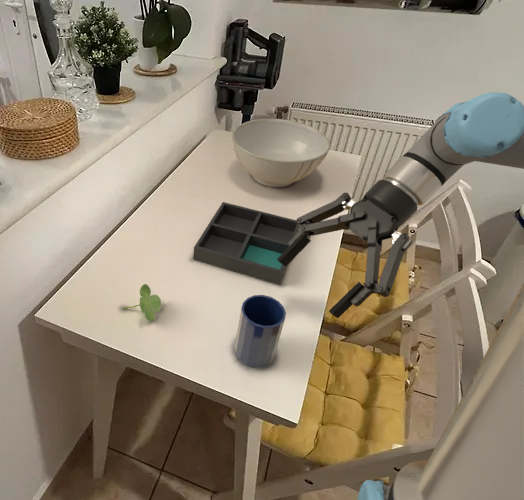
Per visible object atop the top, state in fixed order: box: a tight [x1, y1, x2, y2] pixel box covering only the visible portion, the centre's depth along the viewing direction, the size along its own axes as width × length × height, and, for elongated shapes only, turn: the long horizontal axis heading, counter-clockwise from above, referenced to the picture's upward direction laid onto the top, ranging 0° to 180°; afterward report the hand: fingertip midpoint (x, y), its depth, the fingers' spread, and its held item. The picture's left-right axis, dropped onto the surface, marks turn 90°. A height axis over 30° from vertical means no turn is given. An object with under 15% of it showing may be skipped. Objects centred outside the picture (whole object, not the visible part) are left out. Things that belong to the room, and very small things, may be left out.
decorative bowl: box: [231, 118, 331, 188], centre depth 123 cm, size 27×27×12 cm
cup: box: [234, 294, 287, 369], centre depth 75 cm, size 7×7×11 cm
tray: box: [192, 201, 300, 286], centre depth 100 cm, size 20×20×4 cm
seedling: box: [122, 283, 162, 322], centre depth 84 cm, size 7×8×7 cm
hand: (305, 287), depth 73 cm, fingers open, 13 cm apart
